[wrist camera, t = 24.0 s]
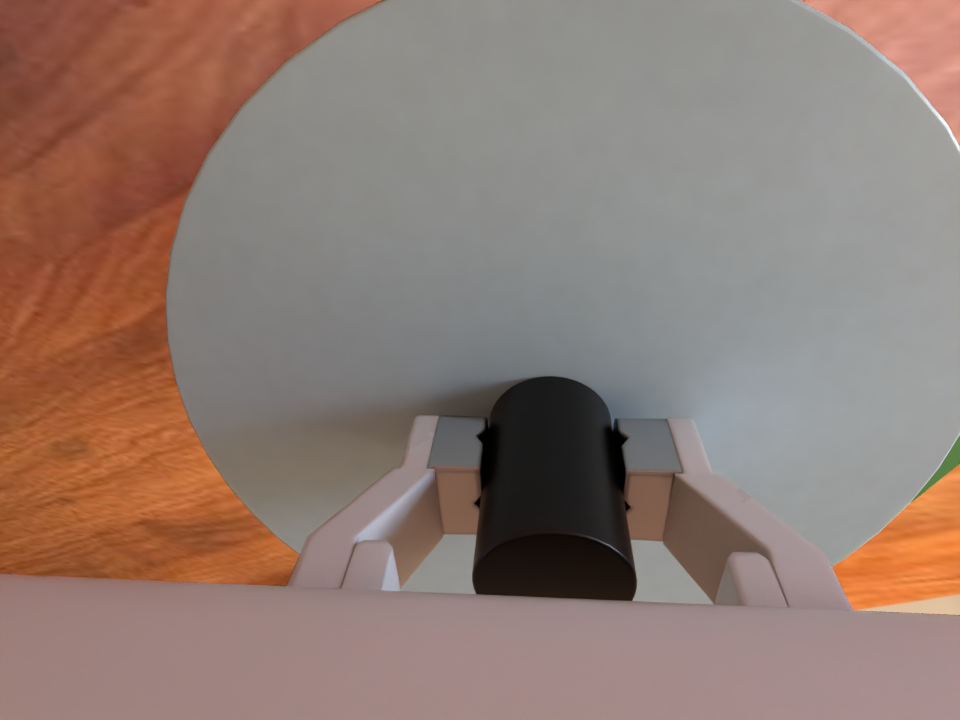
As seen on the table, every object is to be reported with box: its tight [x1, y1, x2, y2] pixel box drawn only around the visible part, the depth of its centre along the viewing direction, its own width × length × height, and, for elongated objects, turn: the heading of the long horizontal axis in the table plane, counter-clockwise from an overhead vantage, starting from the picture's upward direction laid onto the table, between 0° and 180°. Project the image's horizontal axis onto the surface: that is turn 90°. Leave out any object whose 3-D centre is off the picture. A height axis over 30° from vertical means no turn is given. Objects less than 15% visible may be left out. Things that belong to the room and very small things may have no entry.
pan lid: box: [165, 0, 960, 605], centre depth 11 cm, size 17×17×5 cm
